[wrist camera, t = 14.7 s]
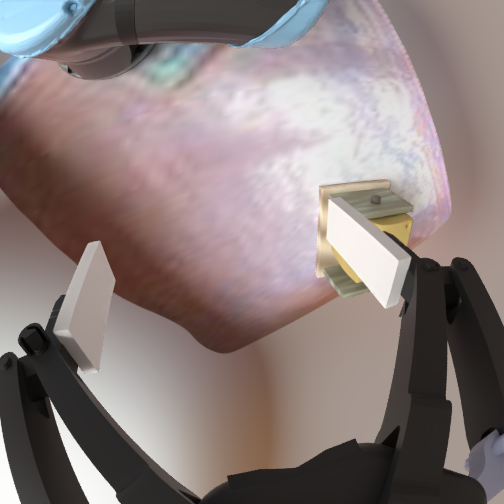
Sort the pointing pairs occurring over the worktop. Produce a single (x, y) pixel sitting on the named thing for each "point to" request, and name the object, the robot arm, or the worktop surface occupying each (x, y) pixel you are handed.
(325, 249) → the holder
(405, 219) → the cheese
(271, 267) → the worktop surface
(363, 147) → the worktop surface
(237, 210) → the worktop surface
